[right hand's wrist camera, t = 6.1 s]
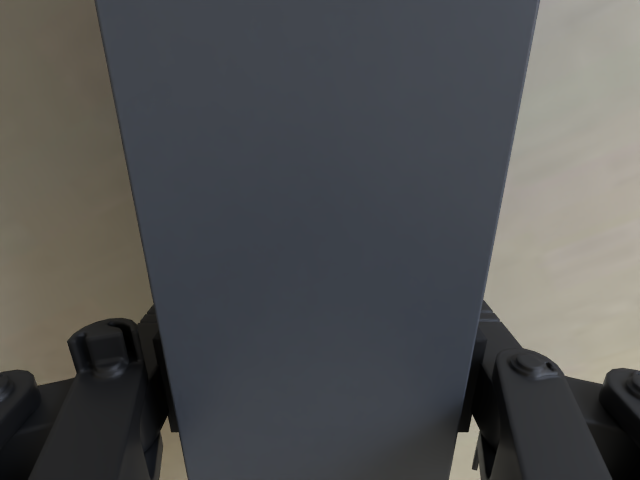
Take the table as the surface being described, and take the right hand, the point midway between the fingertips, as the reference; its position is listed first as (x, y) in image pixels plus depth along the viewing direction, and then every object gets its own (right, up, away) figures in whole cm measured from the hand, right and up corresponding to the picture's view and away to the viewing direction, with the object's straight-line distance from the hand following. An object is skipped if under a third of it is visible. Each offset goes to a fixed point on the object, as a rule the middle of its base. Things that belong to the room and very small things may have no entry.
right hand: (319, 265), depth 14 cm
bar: (0, +9, -3) cm, 9 cm away
